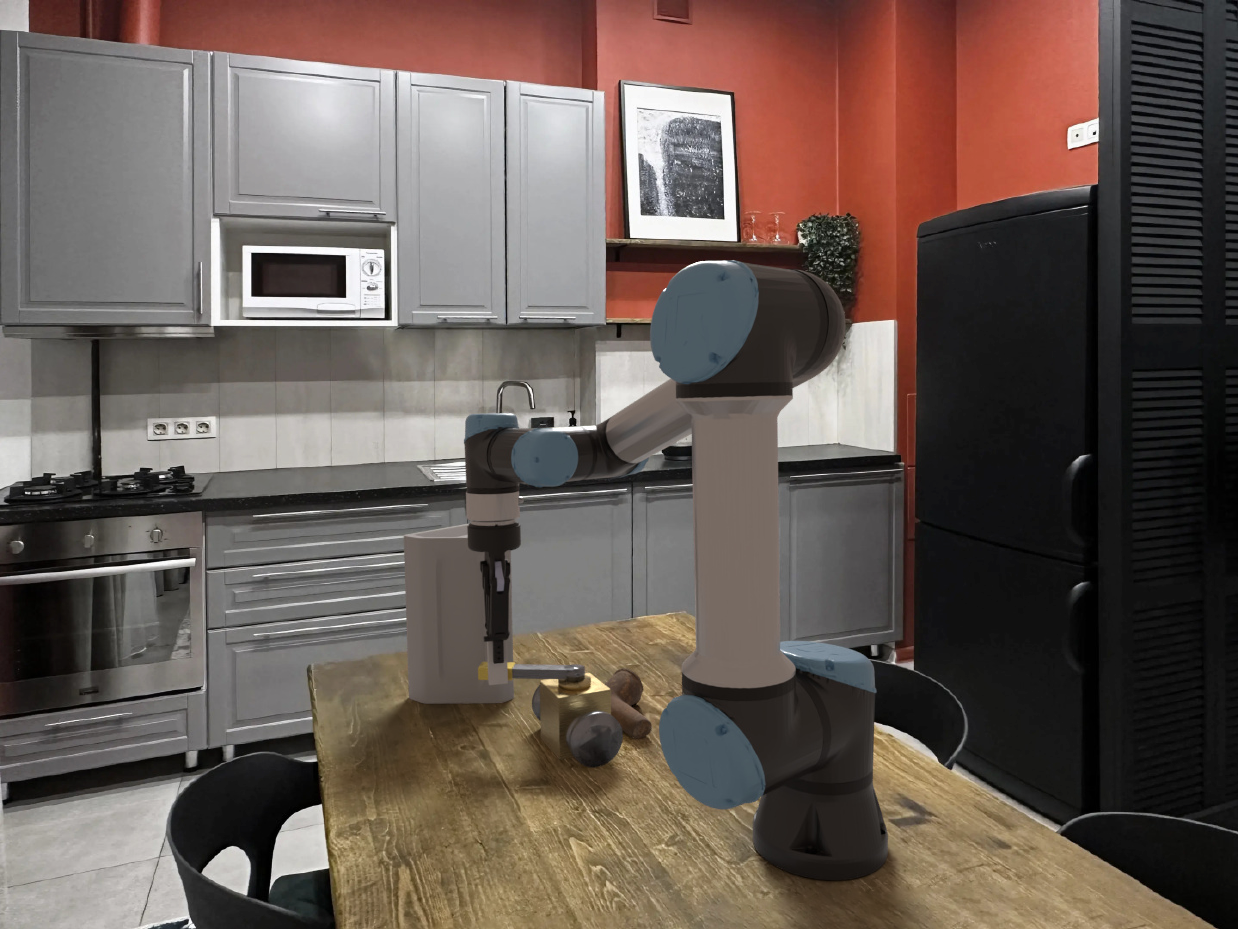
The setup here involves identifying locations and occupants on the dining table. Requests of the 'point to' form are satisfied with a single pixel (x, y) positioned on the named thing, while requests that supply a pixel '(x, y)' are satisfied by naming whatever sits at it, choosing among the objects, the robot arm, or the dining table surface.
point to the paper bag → (448, 620)
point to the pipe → (628, 703)
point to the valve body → (578, 720)
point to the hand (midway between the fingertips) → (498, 682)
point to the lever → (538, 671)
